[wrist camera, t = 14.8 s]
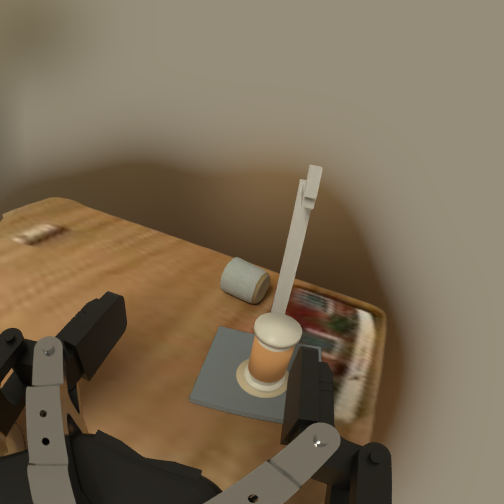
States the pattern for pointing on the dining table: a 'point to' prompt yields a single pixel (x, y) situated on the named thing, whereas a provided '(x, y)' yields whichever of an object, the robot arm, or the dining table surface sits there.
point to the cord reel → (271, 351)
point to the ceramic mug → (245, 281)
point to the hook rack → (240, 343)
